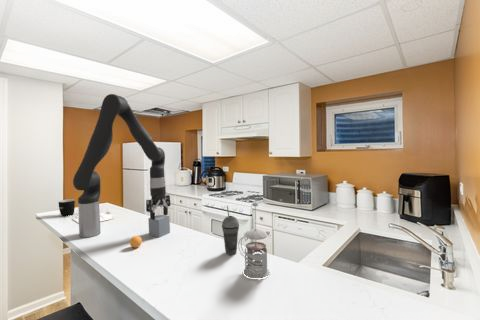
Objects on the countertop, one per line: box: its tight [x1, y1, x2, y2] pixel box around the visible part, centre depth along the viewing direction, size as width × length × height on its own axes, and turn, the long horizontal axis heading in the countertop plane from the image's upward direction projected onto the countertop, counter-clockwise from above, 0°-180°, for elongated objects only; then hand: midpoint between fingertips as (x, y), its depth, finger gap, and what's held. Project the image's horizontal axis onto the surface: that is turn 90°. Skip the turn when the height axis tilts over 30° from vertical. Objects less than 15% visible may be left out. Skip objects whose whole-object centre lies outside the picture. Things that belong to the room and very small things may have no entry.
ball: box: [129, 235, 143, 249], centre depth 109 cm, size 5×5×5 cm
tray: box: [72, 209, 115, 224], centre depth 158 cm, size 20×28×4 cm
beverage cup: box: [221, 205, 240, 256], centre depth 101 cm, size 7×7×20 cm
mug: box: [58, 198, 76, 217], centre depth 164 cm, size 12×9×10 cm
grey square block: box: [148, 214, 171, 238], centre depth 125 cm, size 7×7×9 cm
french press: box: [237, 202, 271, 278], centre depth 85 cm, size 10×12×25 cm
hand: (159, 217), depth 125 cm, fingers open, 8 cm apart
